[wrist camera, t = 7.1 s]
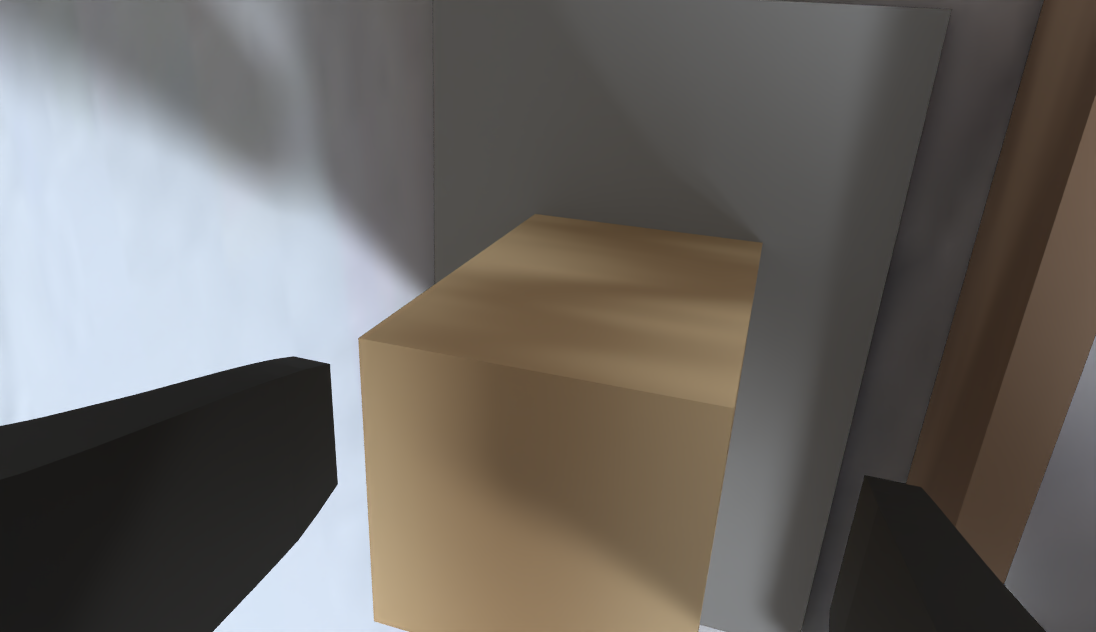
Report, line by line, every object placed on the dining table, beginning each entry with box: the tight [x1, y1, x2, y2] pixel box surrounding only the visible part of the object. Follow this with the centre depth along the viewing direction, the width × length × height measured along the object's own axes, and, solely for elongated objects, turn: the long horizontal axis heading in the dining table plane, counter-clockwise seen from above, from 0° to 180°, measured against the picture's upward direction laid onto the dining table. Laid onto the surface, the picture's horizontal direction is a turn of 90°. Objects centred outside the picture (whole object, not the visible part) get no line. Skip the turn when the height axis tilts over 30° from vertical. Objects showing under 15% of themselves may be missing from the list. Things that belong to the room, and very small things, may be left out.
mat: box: [433, 0, 952, 632], centre depth 14 cm, size 8×12×1 cm, turn 176°
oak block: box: [358, 214, 763, 632], centre depth 11 cm, size 4×4×6 cm
